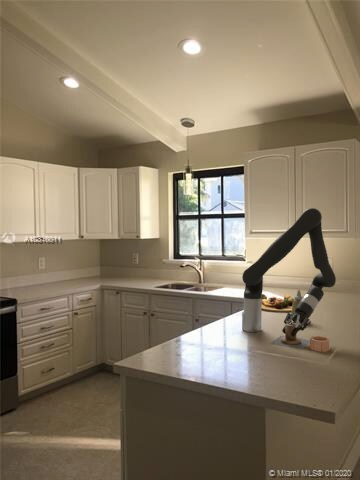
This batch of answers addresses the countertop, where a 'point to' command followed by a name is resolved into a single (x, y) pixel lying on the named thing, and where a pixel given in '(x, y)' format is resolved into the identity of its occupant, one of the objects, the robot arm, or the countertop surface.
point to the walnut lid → (288, 337)
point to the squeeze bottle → (296, 301)
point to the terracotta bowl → (320, 343)
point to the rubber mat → (299, 346)
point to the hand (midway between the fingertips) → (287, 333)
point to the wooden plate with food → (277, 304)
